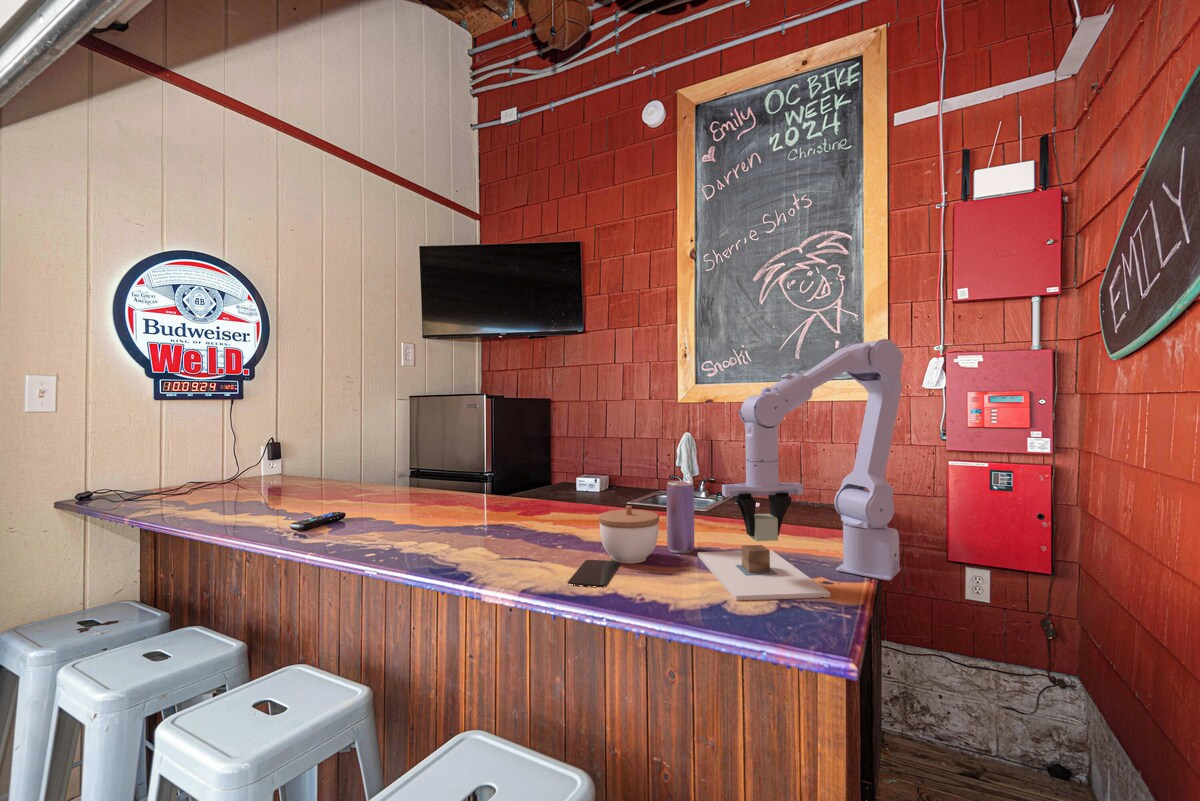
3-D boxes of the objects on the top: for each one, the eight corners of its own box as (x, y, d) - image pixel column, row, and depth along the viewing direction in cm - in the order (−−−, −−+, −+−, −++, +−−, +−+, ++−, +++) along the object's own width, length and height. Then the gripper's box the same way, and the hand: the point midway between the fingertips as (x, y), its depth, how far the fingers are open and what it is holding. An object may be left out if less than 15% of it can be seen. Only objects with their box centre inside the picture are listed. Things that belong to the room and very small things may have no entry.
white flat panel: (771, 553, 117) (771, 549, 117) (830, 597, 91) (830, 591, 91) (697, 555, 116) (697, 551, 116) (736, 600, 90) (736, 595, 90)
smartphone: (605, 590, 97) (620, 564, 112) (605, 585, 97) (620, 560, 112) (565, 588, 99) (585, 562, 113) (565, 583, 99) (585, 558, 113)
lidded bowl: (657, 569, 108) (657, 512, 108) (594, 566, 110) (594, 511, 110) (661, 551, 120) (660, 501, 120) (604, 549, 122) (603, 500, 122)
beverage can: (694, 554, 117) (693, 484, 117) (666, 553, 118) (665, 484, 118) (694, 547, 123) (694, 480, 123) (668, 546, 124) (667, 480, 124)
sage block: (769, 535, 102) (769, 513, 102) (777, 540, 98) (777, 518, 98) (748, 535, 102) (748, 514, 102) (756, 541, 98) (755, 519, 98)
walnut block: (762, 565, 106) (761, 544, 106) (769, 572, 102) (769, 550, 102) (741, 566, 106) (741, 545, 106) (748, 572, 102) (748, 551, 102)
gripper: (791, 457, 105) (791, 528, 105) (716, 458, 103) (717, 530, 103) (807, 461, 98) (808, 537, 98) (728, 463, 96) (729, 540, 96)
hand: (762, 534), depth 100 cm, fingers closed on sage block, 4 cm apart
